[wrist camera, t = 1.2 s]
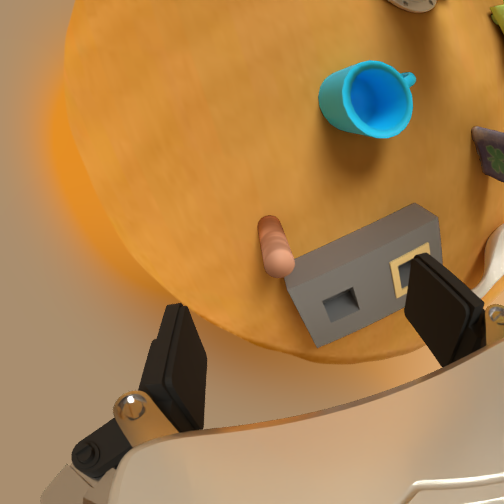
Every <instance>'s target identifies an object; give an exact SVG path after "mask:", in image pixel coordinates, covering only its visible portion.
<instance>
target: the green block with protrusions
mask: <svg viewBox="0 0 504 504" xmlns="http://www.w3.org/2000/svg"><path fill="white" fill-rule="evenodd" d="M503 2H504V0H503ZM490 10H491V11H492V13H493V14H492V15H491V17H492V20H493V21H494V23H495V24H497V25H499V26H500V28H501V30H502V32H503V34H504V4H502V5H498V6H494V7H490Z"/></svg>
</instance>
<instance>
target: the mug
mask: <svg viewBox="0 0 504 504" xmlns="http://www.w3.org/2000/svg"><path fill="white" fill-rule="evenodd" d="M415 82H416V77H415V75H414V74H413V73H411V72H406V73H401V74H400V73H399V72H398V71H397V70H395V69H394V68H393V67H392V66H390V65H388V64H385V63H383V62H380V61H371V60H369V61H365V62H361V63H358V64H355V65H353V66H350V67H347V68H345V69H342V70H340V71H337V72H335V73H332V74H331V75H330V76H328V77H327V78H326V79H325V80H324V82H323V83H322V85H321V87H320V91H319V96H318V98H319V106H320V109H321V111H322V113H323V116H324V117H325V118H326V119H327V120H328V122H329V123H330V124H331V125H333V126H334V127H336V128H337V129H339V130H343V131H346V132H350V133H355V134H360V135H365V136H370V137H374V138H390V137H393V136H396V135H398V134H399V133H400V132H401V131H403V130H404V129H405V128H406V126H407V125H408V123H409V121H410V119H411V115H412V110H413V100H412V94H411V91H410V89H409V88H410V87H411V86H413V85H414V84H415Z"/></svg>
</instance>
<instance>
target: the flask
mask: <svg viewBox="0 0 504 504" xmlns="http://www.w3.org/2000/svg"><path fill="white" fill-rule="evenodd" d="M471 131H472V138H473V141H475V145H476V150H477V153H478V154H479V156H480V161H481V166H482V170H483V173H484V174H485V175H489V176H491V177H493V178H495V179H497V180H499V181H501V182H504V133H502V132H498V131H495V130H490V129H486V128H482V127H478V126H475V127H473V128H472V129H471Z"/></svg>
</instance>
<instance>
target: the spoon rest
mask: <svg viewBox="0 0 504 504" xmlns="http://www.w3.org/2000/svg"><path fill="white" fill-rule="evenodd" d="M503 275H504V224H502V225H500V226H499V227H498V228H497V229H496V230H495V231H494V232H493V233H492V234H491V235H490V237H489V238H488V240H487V243H486V246H485V264H484V274H483V277H482V279H481V281H480V283H479V284H478V285H477V286H476V287H475V288H473V289H471V291H473V292H474V293H475V294H476V295H477V296H478V297H479V298H480V299H481V298H482V297H483V296H484V295H485V294H486V293H487V292H488V291H489V290H490V289H491V287H492V286H493V285H494V284H495V283H496V282H497V281H498V280H499V279H500V278H501V277H502V276H503Z"/></svg>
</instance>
